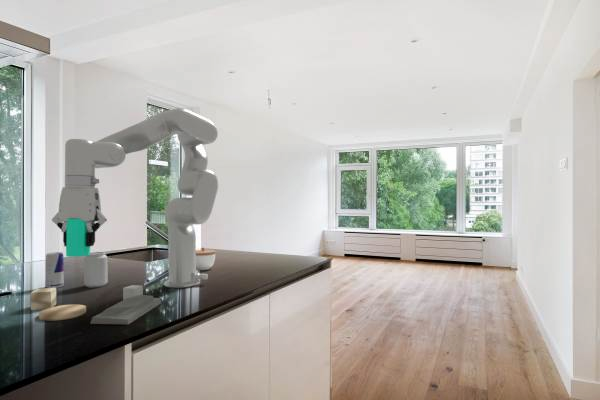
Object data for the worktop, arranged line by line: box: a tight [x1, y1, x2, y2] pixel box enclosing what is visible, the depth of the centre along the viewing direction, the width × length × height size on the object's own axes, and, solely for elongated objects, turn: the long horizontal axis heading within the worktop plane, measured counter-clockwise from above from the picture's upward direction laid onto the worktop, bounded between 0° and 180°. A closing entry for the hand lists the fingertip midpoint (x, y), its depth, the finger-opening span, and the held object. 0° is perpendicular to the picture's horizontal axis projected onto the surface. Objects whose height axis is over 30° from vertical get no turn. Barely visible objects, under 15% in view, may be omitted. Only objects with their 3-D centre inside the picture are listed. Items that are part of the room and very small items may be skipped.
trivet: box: [38, 304, 87, 322], centre depth 106 cm, size 11×11×1 cm
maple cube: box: [30, 287, 57, 311], centre depth 113 cm, size 5×5×5 cm
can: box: [83, 251, 109, 288], centre depth 140 cm, size 8×8×12 cm
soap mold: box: [90, 294, 162, 325], centre depth 107 cm, size 10×20×4 cm, turn 175°
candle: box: [65, 219, 91, 258], centre depth 111 cm, size 6×6×12 cm
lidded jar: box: [196, 247, 216, 271], centre depth 172 cm, size 11×11×9 cm
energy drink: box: [45, 251, 65, 289], centre depth 139 cm, size 5×5×12 cm
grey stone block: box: [122, 284, 144, 301], centre depth 121 cm, size 4×4×4 cm
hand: (79, 245), depth 111 cm, fingers closed on candle, 5 cm apart
